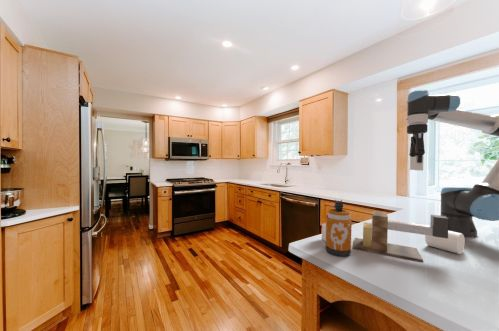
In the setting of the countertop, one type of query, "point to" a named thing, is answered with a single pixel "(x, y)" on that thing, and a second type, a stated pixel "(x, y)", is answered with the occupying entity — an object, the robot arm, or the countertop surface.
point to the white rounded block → (447, 242)
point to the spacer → (367, 235)
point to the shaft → (423, 227)
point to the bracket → (385, 240)
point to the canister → (338, 230)
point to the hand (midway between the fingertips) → (416, 170)
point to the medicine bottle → (324, 231)
